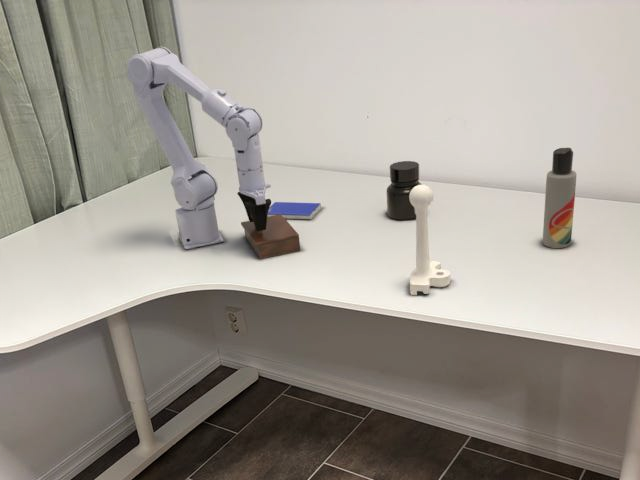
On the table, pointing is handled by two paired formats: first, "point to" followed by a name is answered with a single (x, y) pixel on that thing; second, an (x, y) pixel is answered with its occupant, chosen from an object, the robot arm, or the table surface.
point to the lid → (270, 230)
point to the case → (275, 247)
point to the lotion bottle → (559, 200)
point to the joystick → (424, 246)
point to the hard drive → (294, 210)
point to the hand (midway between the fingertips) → (257, 225)
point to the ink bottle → (402, 189)
